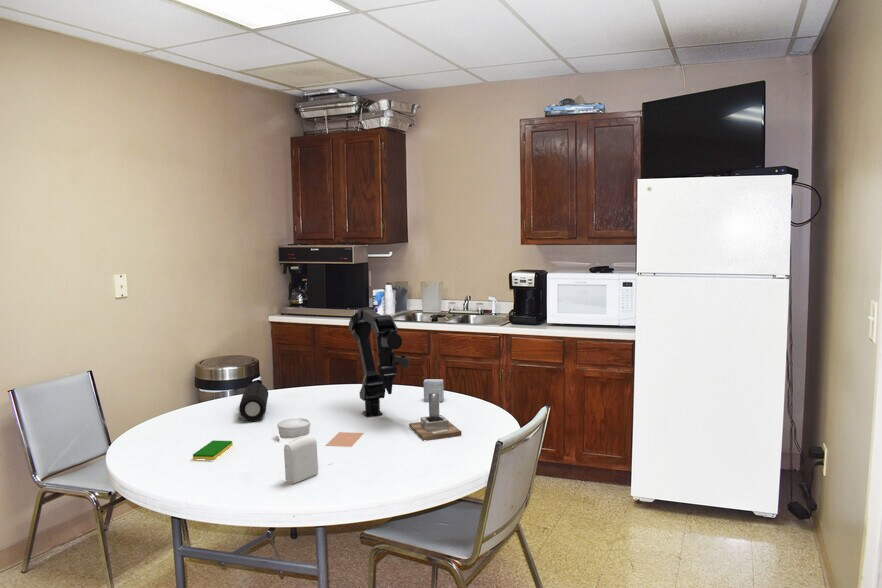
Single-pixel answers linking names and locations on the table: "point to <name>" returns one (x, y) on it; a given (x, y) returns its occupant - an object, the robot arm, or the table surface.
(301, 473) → the photo printer
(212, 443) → the dish sponge
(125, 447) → the table surface
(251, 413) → the portable speaker
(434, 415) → the steel peg
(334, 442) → the peach flat block
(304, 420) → the ramekin
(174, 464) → the table surface
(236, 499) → the table surface
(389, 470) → the table surface
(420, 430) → the board
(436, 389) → the medicine box
